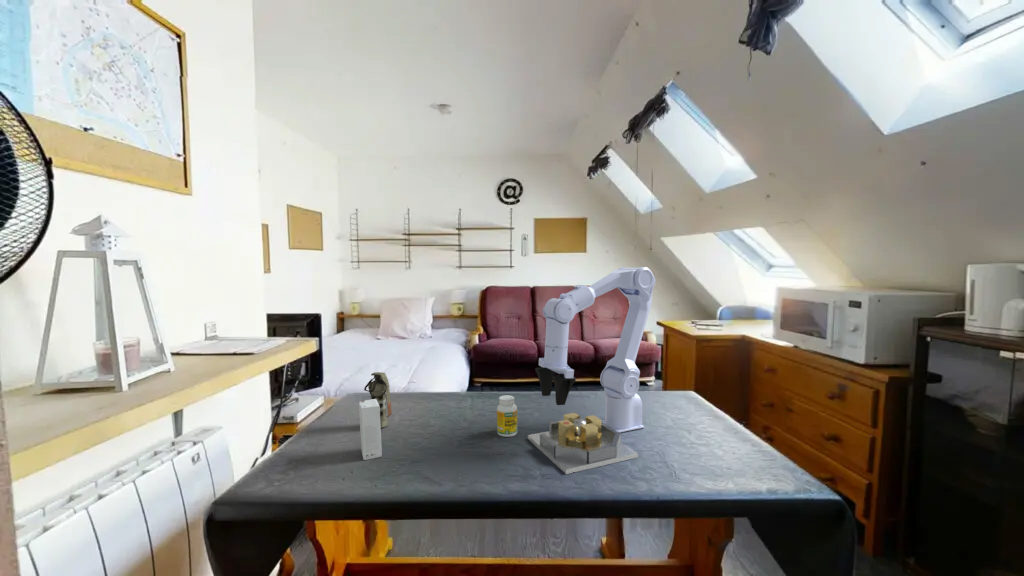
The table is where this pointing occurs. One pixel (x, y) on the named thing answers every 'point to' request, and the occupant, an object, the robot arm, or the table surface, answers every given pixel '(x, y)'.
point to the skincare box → (370, 429)
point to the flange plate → (579, 465)
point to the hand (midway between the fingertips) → (553, 399)
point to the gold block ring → (588, 432)
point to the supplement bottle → (506, 416)
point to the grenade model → (380, 395)
